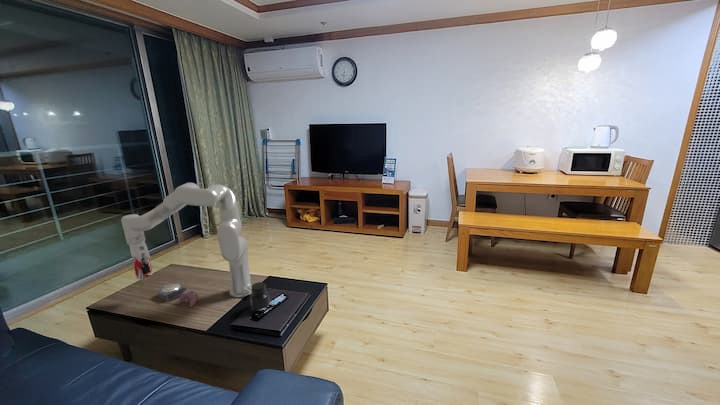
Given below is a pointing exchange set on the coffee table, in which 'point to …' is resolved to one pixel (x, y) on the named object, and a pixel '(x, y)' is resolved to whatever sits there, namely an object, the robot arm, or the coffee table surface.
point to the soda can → (138, 269)
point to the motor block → (171, 291)
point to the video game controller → (188, 297)
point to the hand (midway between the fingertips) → (143, 271)
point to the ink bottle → (259, 296)
